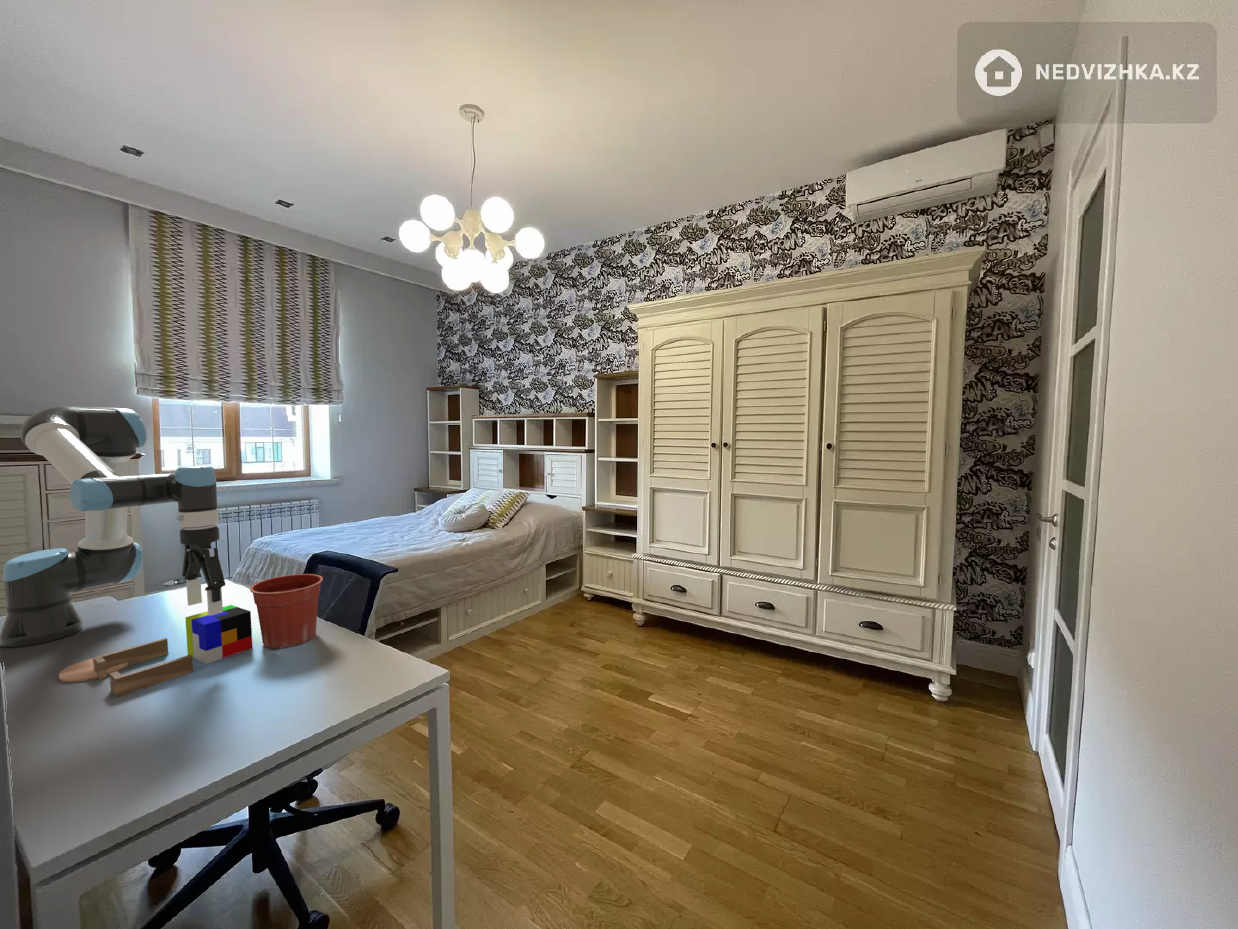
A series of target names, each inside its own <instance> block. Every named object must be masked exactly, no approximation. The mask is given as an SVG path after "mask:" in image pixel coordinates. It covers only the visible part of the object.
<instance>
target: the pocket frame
mask: <svg viewBox="0 0 1238 929" xmlns="http://www.w3.org/2000/svg"><path fill="white" fill-rule="evenodd" d="M168 642H169V641H168V638H167V637H164V638H160V639H156V640H152V641H150V642H145V643H143V644H138V645H134V646H132V647H131V646H130V647H128V648H124V649H121V650H116V651H112V652H109V653H105V654H102V655H98V656H95V657H92V658H93V665H94V671H95V672H96V673H97V674H98V678H97V679H98V680H103V679H105V678H108V675H107V671H106V668H109V667H112V666H116V665H119V664H122V663H126V662H128V666H127V667H130V666H131V665H133V666H134V665H136V664H138V663H143V662H147V661H149V660H153V659H156V658H160V657H163V656H165V655H166V656H167V655H169V644H168ZM194 672H195V671H194V658H193V656H192V655H188V654H187V655H185V656H181V657H179V658H174V659H172V660H168V661H165V662H161V663H158V664H155V665H152V666H149V667H145V668H142V669H139V670H136V671H132V672H128V673H125V674H121V673H120V672H119V671H117V672H113V673H110V674H109V684H110V692H111V693H113V695H115V697H116V698H119V697H122V696H124V695H128V694H130V693H134V692H137V691H140V690H143V689H146V688H149V687H152V686H155V685H158V684H161V683H164V682H167V681H170V680H173V679H176V678H179V677H182V676H186V675H189V674H191V673H194Z"/></svg>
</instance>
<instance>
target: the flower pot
mask: <svg viewBox="0 0 1238 929" xmlns="http://www.w3.org/2000/svg"><path fill="white" fill-rule="evenodd" d="M323 581H324V580H323V576H321V575H318V574H314V573H313V574H311V573H298V574H296V573H295V574H288V575H287V574H286V575H281V576H275V577H271V578H268V579H264V580H262V581H261V580H260V581H258V582H256V583H254V584H253V585H251V586H250V588H249V591H250V592H251V593H252V596H253V601H254V602H253V603H254V604H255V605H256V610H257V616H258V622H259V626H260V627H259V628H260V629H259V630H260V634H261V640H262V641H261V642H262V645H263V646H264V648H268V649H273V650H278V649H279V650H280V649H287V648H289V647H290V646H300V645H303V644H305V643H307V642H310V641H311V640H313V639H314V638H315V636H316V634H317V622H318V607H319V595H320V593H321V583H322V582H323Z"/></svg>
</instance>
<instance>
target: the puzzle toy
mask: <svg viewBox="0 0 1238 929" xmlns="http://www.w3.org/2000/svg"><path fill="white" fill-rule="evenodd" d="M251 613H252V612H251V611H250V610H248V609H245V608H241V607H240V606H236V605H233V604H230V605H226V606H223V613H219V614H215V615H211V616H209V615H208V610H207V611H203V612H200V613H196V614H193V615H189V616H186V617H184V618H185V634H186V648H187V650H186V652H187V655H192V656H193V659H195V660H198V661H199V662H202V663H204V664H210V663H213V662H215V661H219V660H222V659H225V658H228V657H231V656H233V655H237V654H239V653H242V652H245V651H247V650H250V649H253V632H252V631H253V629H252V628H253V627H252V614H251Z"/></svg>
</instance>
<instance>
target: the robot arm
mask: <svg viewBox="0 0 1238 929" xmlns="http://www.w3.org/2000/svg"><path fill="white" fill-rule="evenodd" d="M19 437H20V439H21V442H22V443H23V444H24V446H25V447H26V448H27V449H28V450H30V451H31V452H32V453H34V454H36V455H39V456H43V457H44V459H46V460H47V461H48V462H49V463H50V464H51V465H52V467H54V468H55V469H56V471H58V472H59V474H61V475H62V476H63V477H64V478H65V479H66V480H67V481H68V482H69V483H70V487H69V497H70V498H69V499H70V502H72V506H73V507H74V509H76V511H77V510H78V511H80V512H85V533H84V534H85V537H84V538H82V539H81V540H80V541H78V543H77V550H74V551H69V550H68V549H67V548H63V547H60V548H59V547H58V548H57V547H56V548H51V549H45V550H44V549H43V550H39V551H38V550H37V551H33V552H29V553H26V554H25V553H24V554H22V555H19V556H16V557H13V558H11V559H9V560H8V561H6V562H5V563H4V565H3V569H2V570H3V572H2V573H3V574H2V582H3V586H4V597H5V608H6V617H5V619H4V622H3V624H2V627H1V630H0V647H3V648H18V647H26V646H27V647H28V646H33V645H39V644H42V643H47V642H51V641H54V640H58V639H62V638H65V637H68V636H71V635H73V634H75V633H78V632H79V631H81V630H83V626H84V625H83V618H82V617H81V615H80V614H79V612H78V610H77V609H76V608H75V606H74V604H73V602H72V593H76V592H80V591H86V590H89V589H93V588H99V587H105V586H109V585H116V584H119V583H122V582H126V581H130V580H132V579H134V578H135V577H136V576H137V575H138V574H139V573H140V571H141V569H142V566H143V560H144V555H143V553H142V552H143V549H142V547H141V545H140V544H139V543H138V542H135V541H134V538H133V537H132V536H129V534H128V508H132V507H139V506H151V505H158V504H167V503H168V504H169V503H177V508H178V509H177V511H178V516H176V517H175V519H176V520H177V521H178V522H179V527H180V528H182V529H180V530H179V538H180V539H179V540H180V544H182V545H184V557H183V558H184V559H183V567H182V572H181V575H182V577H183V578H184V579H185V580H186V582H185V583H186V584H185V585H186V598H187V606H189V607H190V606H193V605H198V604H201V603H203V597H202V583H201V581H202V580H201V578H202V574H203V576H204V579H205V582H206V585H207V586H206V587H205V589H204V591H205V592H206V601H207V611H208V615H209V616H211V615H215V614H219V613H223V607H224V606H223V595H222V594H223V592H222V591H223V590H222V587H226V581H225V578H224V574H223V570H222V566H221V562H220V559H219V551H218V550H219V549H218V547H212V543H213V542H217V541H219V540H220V528H219V526H218V524H219V523H220V520H219V508H218V497H217V496H218V495H217V480H218V479H217V478H216V470H215V469H214V467H213V466H211V465H188V466H180V467H178V468H176V470H175V471H172V472H162V473H155V474H154V473H153V474H142V475H141V474H139V475H129V462H130V461H129V460H130V459H132V458H133V457H135V456H136V454H137V448H138V449H139V448H143V447H144V446H145V445H146V442H147V438H148V437H147V430H146V426H145V423H144V421H143V419H142V418H141V415H139V414H138V413H137V411H134V410H133V409H130V408H122V407H113V406H111V407H110V406H109V407H107V406H106V407H105V406H70V405H69V406H65V405H60V406H59V405H58V406H51V407H47V408H44V409H41V410H39V411H36V412H35V413H33V414H31V415H29V417H27V418H26V419H25V421H24V422H23V423H22V426H21V428H20V430H19ZM201 571H202V574H201Z"/></svg>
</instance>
